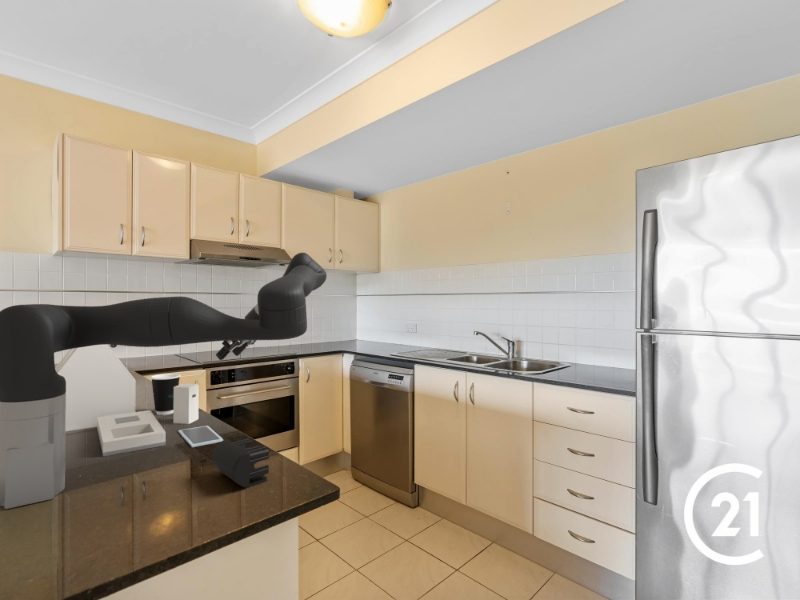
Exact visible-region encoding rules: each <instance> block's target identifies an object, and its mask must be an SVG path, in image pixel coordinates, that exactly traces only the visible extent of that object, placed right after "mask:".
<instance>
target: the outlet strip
mask: <svg viewBox="0 0 800 600" xmlns="http://www.w3.org/2000/svg"><path fill="white" fill-rule="evenodd" d="M96 430H97V434H98V439H99V445H100V449H101V453H102V457H108V456H113V455H118V454H124V453H130V452H136V451H139V450H140V451H141V450H145V449H151V448H157V447H162V446H163V447H164V446H166V444H167V443H166V442H167V441H166V438H167V437H166V435H167V433H166V431H165V429H164V428H163V427H162V425H161V424H160V421H158V419H157V418H156V417H155V415H154V413H153V412H152V411H151V410H143V411H135V412H133V413H125V414H118V415H110V416H103V417H97V427H96Z"/></svg>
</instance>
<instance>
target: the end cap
mask: <svg viewBox="0 0 800 600" xmlns="http://www.w3.org/2000/svg"><path fill="white" fill-rule="evenodd" d="M250 445H255V441H254V440H253V439H250V438H245V439H241V440H237V441H232V440H230V439H229V438H226V439H223V441H222V442H218V443H217V445H216V446H215V448H213V449H214V450H213V451H212V455H211V463H212V464H213V467H215V468H216V469H217V470H218V471H220V472H221V473H222V474H224V475H225V476H227V478H229V479H231V481H233V482H234V483H236V484H238V485H239V486H240V487H243V488H246V489H247V488H248V489H249V488H251V487H254V486H257V485H260V484H264V483H266V482H268V476H266V475H268V474H269V473H270V471H269V469H270V467H269V466H270V465H269V464H266V465H263V466H260V467H256V468H255V466H256V463H259V462H262V461H265V460H269V459H270V452H269V449H268V448H267V447H265V446H263V445H258V446H253V447H249V446H250Z"/></svg>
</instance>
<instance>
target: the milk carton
mask: <svg viewBox="0 0 800 600" xmlns="http://www.w3.org/2000/svg"><path fill="white" fill-rule="evenodd" d="M55 370H56V372H57V373H58V374H59V375H61V376H63V377H64V378H65V380H66V432H69V431H77V430H83V429H84V430H85V429H91V428H97V417H103V416H110V415H118V414H125V413H133V412H136V394H137V393H136V391H137V389H136V387H137V385H136V384H137V382H136V378H135V377H134V376H133V375H132V374H131V372H130V371H129V370H128V368H127V367H126V366H125V365H124V363H123V362H122V361H121V360H120V358H119V357H118V356H117V355H116V354H115V352H114V350H112V349H111V347H110V346H109V344H105V345H94V346H87V347H80V348H74V349H68V351H67V352H66V353H65V355H64V356H63V358H62V359H61V360H60V361H59V362H58V363H57V365H56V366H55Z"/></svg>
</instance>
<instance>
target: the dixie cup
mask: <svg viewBox="0 0 800 600" xmlns="http://www.w3.org/2000/svg"><path fill="white" fill-rule="evenodd" d="M181 377H182V376H181V374H180V373H162V374H161V373H160V374H155V375H152V376H150V379H151V386H152V395H153V403H154V411H156V412H155V413H156V415H159V416H161V415H162V416H163V415H164V416H165V415H172V414H173V411H174V387H175V386H178V385H180V378H181Z"/></svg>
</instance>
